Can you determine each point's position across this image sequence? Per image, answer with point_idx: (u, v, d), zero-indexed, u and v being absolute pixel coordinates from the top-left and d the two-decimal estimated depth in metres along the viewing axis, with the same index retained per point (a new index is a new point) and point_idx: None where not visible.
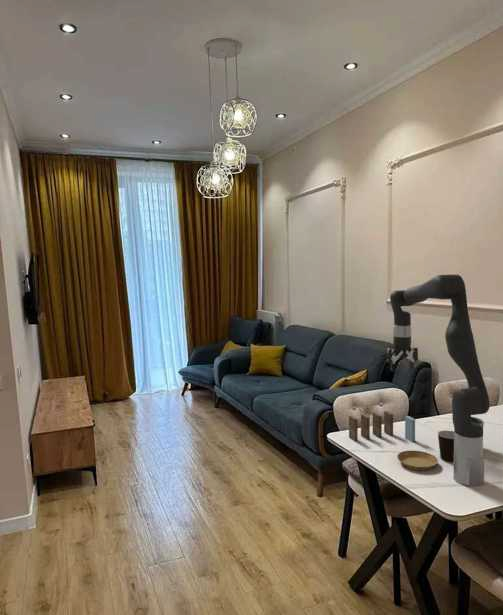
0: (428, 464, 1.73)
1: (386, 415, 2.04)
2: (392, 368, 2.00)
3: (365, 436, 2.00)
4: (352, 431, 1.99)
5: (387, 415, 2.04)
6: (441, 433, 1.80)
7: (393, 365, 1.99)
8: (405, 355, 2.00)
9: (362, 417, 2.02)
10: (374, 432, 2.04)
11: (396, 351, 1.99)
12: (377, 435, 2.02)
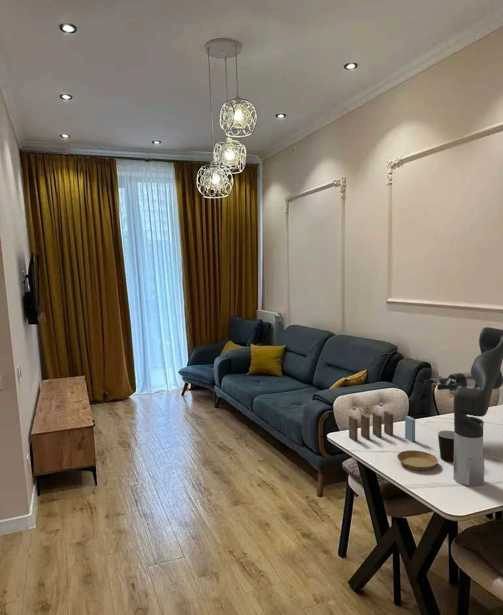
0: (428, 464, 1.73)
1: (386, 415, 2.04)
2: (441, 389, 1.95)
3: (365, 436, 2.00)
4: (352, 431, 1.99)
5: (387, 415, 2.04)
6: (441, 433, 1.80)
7: None
8: None
9: (362, 417, 2.02)
10: (374, 432, 2.04)
11: (453, 387, 1.99)
12: (377, 435, 2.02)
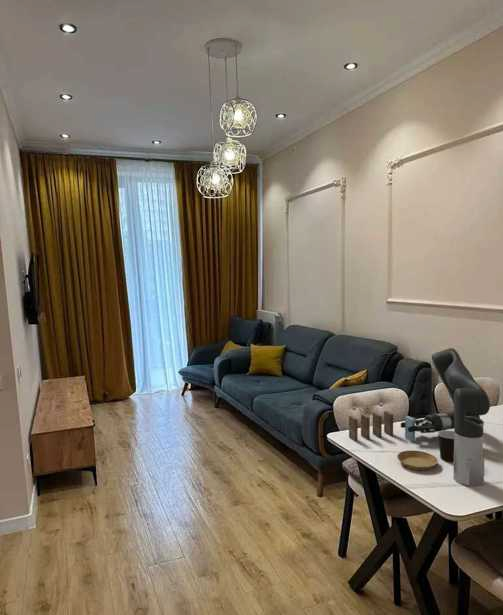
0: (428, 464, 1.73)
1: (386, 415, 2.04)
2: (412, 431, 1.93)
3: (365, 436, 2.00)
4: (352, 431, 1.99)
5: (387, 415, 2.04)
6: (441, 433, 1.80)
7: (414, 430, 1.94)
8: None
9: (362, 417, 2.02)
10: (374, 432, 2.04)
11: None
12: (377, 435, 2.02)
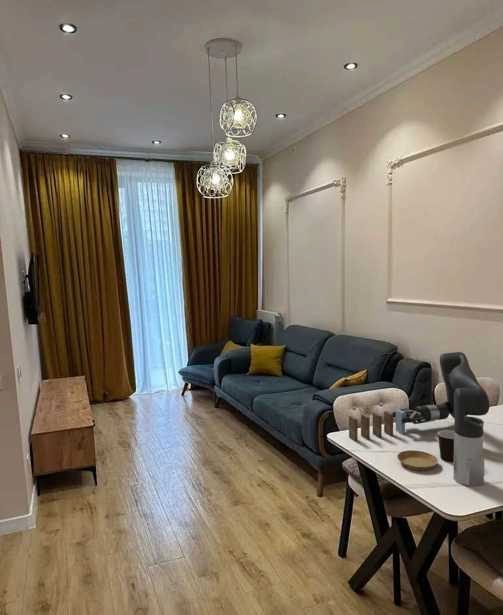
0: (428, 464, 1.73)
1: (386, 415, 2.04)
2: None
3: (365, 436, 2.00)
4: (352, 431, 1.99)
5: (387, 415, 2.04)
6: (441, 433, 1.80)
7: (407, 422, 2.02)
8: None
9: (362, 417, 2.02)
10: (374, 432, 2.04)
11: None
12: (377, 435, 2.02)
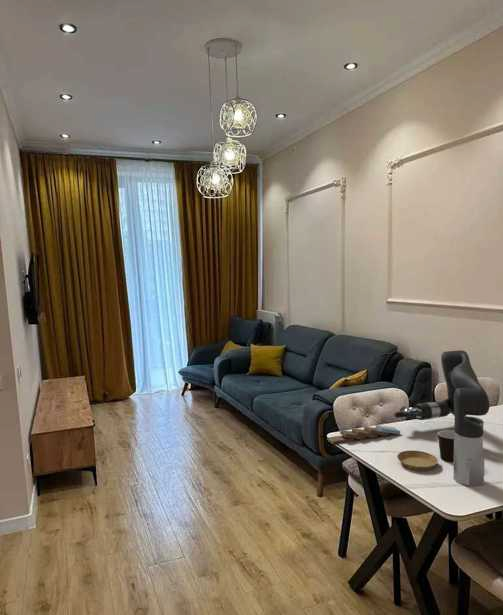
0: (428, 464, 1.73)
1: None
2: (399, 416, 2.04)
3: None
4: None
5: None
6: (441, 433, 1.80)
7: (401, 416, 2.05)
8: None
9: None
10: None
11: None
12: None
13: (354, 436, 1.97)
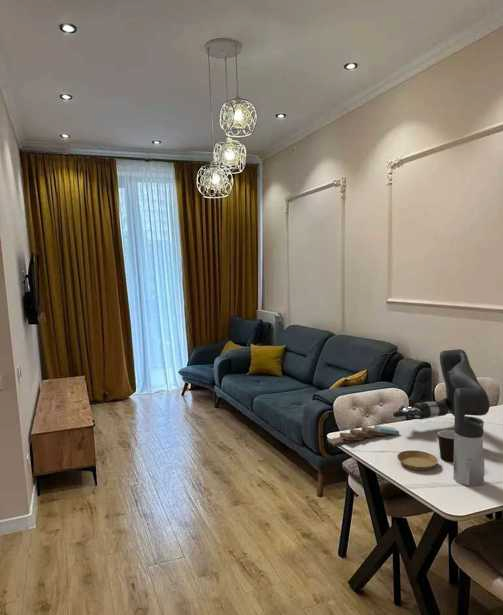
0: (428, 464, 1.73)
1: None
2: None
3: None
4: None
5: None
6: (441, 433, 1.80)
7: (400, 416, 2.05)
8: None
9: None
10: None
11: None
12: None
13: (355, 438, 1.95)
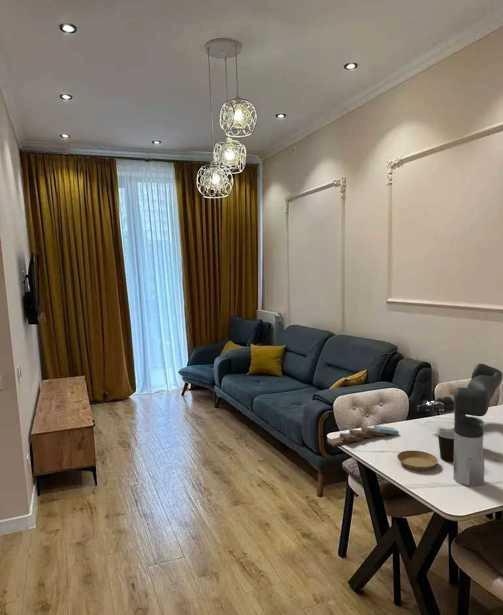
0: (428, 464, 1.73)
1: None
2: (422, 409, 2.08)
3: None
4: None
5: None
6: (441, 433, 1.80)
7: (424, 409, 2.08)
8: None
9: None
10: None
11: None
12: None
13: (355, 438, 1.95)
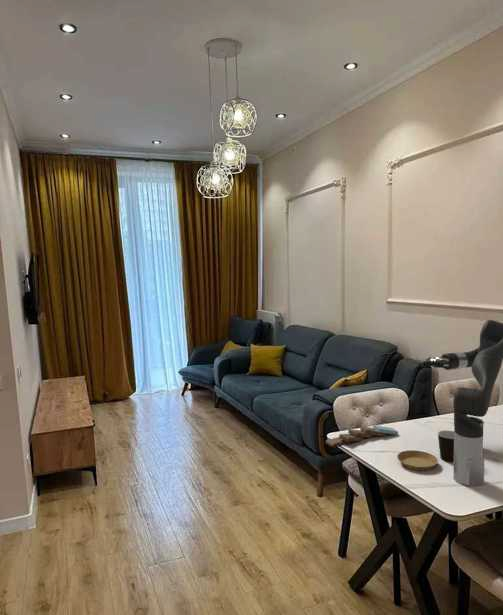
0: (428, 464, 1.73)
1: None
2: (426, 365, 2.01)
3: None
4: None
5: None
6: (441, 433, 1.80)
7: (428, 365, 2.02)
8: None
9: None
10: None
11: None
12: (369, 437, 2.01)
13: (354, 439, 1.95)
